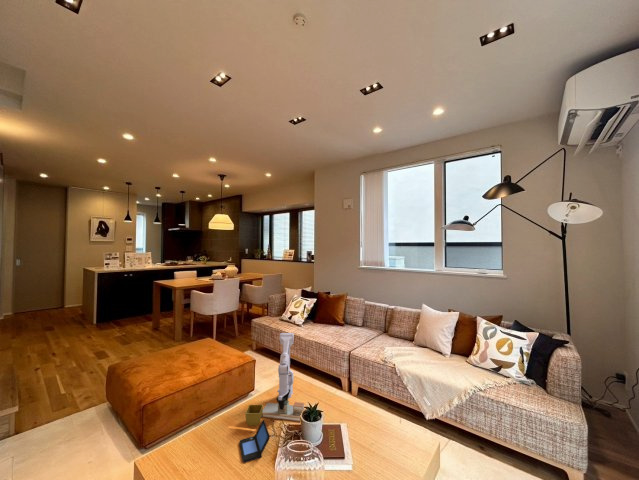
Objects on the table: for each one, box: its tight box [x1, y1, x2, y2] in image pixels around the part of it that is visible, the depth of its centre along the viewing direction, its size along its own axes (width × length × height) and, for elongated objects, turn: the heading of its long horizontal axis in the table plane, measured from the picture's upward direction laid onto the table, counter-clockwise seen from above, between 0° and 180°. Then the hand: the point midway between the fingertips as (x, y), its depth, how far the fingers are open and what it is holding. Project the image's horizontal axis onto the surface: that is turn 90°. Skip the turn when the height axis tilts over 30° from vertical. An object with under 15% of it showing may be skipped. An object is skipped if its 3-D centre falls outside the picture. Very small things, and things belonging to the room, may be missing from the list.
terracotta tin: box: [293, 401, 305, 416], centre depth 165 cm, size 4×6×6 cm
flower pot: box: [244, 404, 264, 427], centre depth 158 cm, size 9×9×9 cm
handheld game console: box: [239, 420, 271, 463], centre depth 138 cm, size 16×13×9 cm
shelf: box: [261, 402, 301, 422], centre depth 168 cm, size 15×30×3 cm, turn 79°
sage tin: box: [277, 400, 290, 414], centre depth 168 cm, size 4×6×6 cm
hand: (283, 405), depth 168 cm, fingers open, 7 cm apart
